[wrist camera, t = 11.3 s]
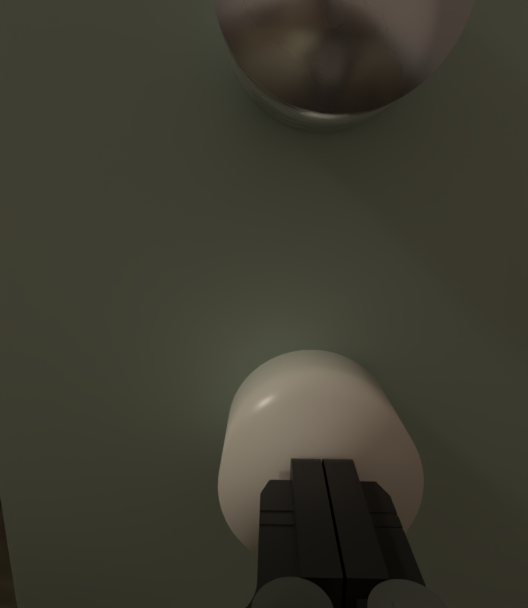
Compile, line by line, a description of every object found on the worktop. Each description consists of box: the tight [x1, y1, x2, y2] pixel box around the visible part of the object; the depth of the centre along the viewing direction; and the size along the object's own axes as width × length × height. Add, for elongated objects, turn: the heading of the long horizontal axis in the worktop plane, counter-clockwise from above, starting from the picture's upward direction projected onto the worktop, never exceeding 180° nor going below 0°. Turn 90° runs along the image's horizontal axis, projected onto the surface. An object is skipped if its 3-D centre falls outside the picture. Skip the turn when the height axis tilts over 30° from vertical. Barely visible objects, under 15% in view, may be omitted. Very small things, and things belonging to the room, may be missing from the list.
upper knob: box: [213, 0, 474, 133], centre depth 12 cm, size 7×5×5 cm
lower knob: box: [218, 350, 424, 556], centre depth 14 cm, size 7×5×5 cm
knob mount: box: [0, 0, 528, 608], centre depth 17 cm, size 8×20×28 cm, turn 90°
